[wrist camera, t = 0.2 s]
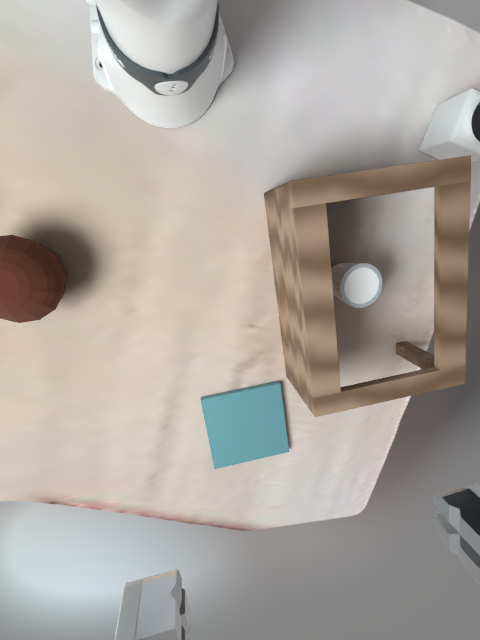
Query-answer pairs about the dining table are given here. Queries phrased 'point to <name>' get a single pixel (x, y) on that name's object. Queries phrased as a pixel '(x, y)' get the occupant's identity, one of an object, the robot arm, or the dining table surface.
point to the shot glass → (356, 283)
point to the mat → (245, 424)
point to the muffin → (28, 279)
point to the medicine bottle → (455, 128)
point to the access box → (317, 291)
